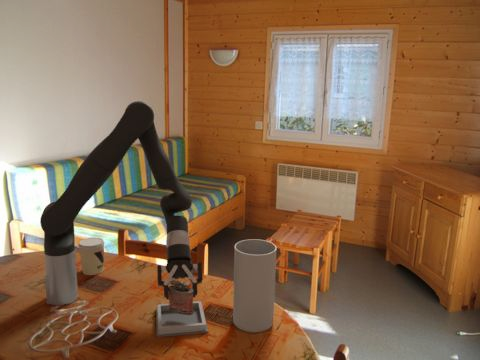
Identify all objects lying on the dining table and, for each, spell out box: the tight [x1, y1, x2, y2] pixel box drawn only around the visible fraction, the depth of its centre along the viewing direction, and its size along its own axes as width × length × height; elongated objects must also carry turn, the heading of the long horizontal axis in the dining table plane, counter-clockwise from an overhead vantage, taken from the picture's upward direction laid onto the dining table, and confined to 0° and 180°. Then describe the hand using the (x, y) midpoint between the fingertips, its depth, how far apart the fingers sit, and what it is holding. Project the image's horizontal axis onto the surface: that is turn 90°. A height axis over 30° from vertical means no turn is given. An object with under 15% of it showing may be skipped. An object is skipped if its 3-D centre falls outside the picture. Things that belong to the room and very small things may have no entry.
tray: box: [155, 300, 209, 338], centre depth 135 cm, size 15×15×2 cm
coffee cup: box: [78, 237, 105, 276], centre depth 167 cm, size 9×9×12 cm
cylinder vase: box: [232, 238, 277, 333], centre depth 133 cm, size 12×12×25 cm
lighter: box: [168, 279, 194, 315], centre depth 134 cm, size 8×3×10 cm, turn 71°
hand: (181, 297), depth 133 cm, fingers closed on lighter, 7 cm apart
